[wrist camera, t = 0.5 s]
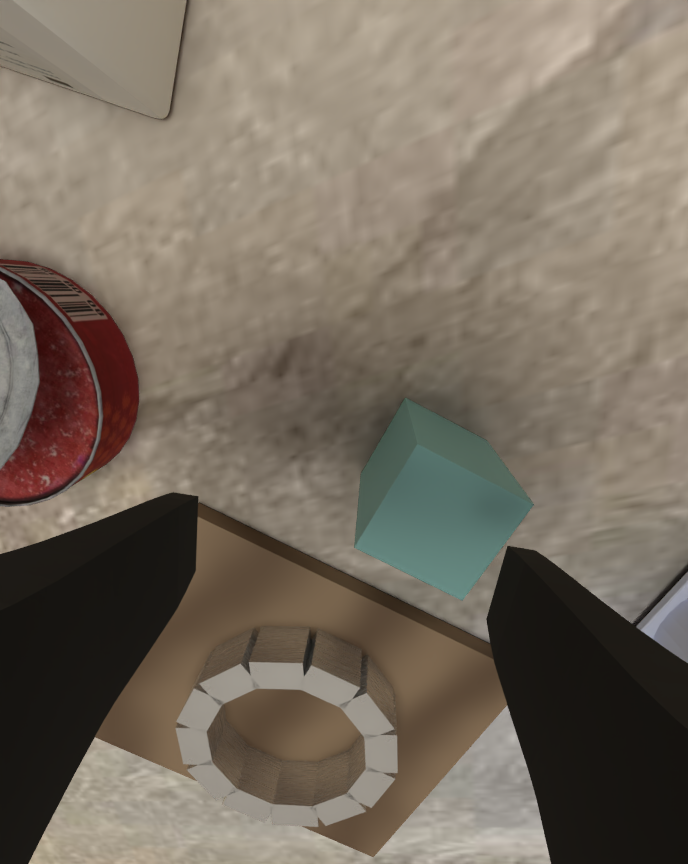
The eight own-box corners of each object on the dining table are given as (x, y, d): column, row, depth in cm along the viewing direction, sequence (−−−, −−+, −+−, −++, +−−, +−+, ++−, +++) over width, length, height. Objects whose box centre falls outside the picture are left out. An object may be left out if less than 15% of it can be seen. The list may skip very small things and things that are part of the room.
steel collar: (434, 683, 22) (439, 724, 20) (338, 805, 25) (334, 852, 23) (242, 592, 21) (227, 626, 19) (168, 731, 24) (148, 773, 22)
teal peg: (486, 440, 19) (534, 504, 13) (438, 513, 20) (462, 600, 14) (405, 397, 19) (417, 443, 13) (360, 474, 20) (354, 547, 14)
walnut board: (524, 660, 22) (531, 677, 21) (373, 837, 27) (373, 857, 26) (199, 502, 21) (190, 512, 20) (101, 718, 26) (90, 735, 25)
